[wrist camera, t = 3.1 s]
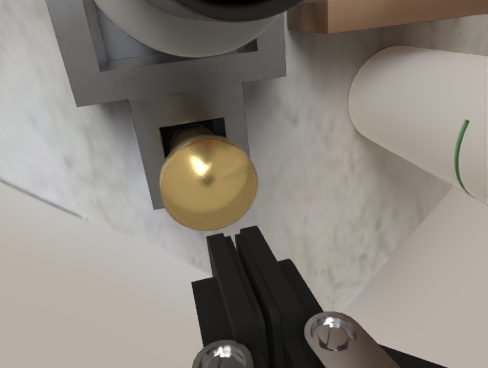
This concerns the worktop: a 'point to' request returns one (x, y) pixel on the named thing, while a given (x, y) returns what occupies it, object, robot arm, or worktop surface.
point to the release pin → (206, 180)
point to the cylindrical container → (427, 112)
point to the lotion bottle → (194, 23)
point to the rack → (375, 13)
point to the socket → (164, 82)
